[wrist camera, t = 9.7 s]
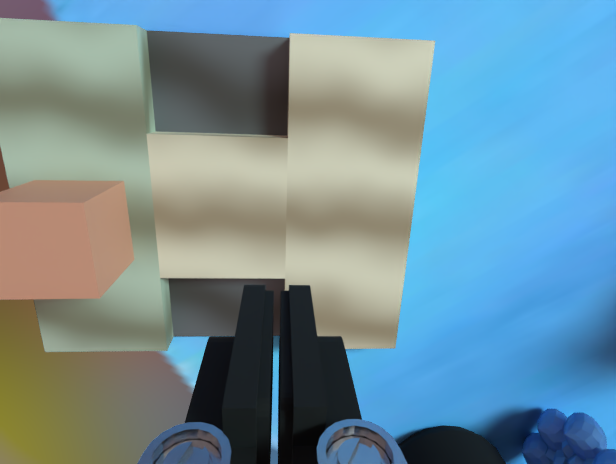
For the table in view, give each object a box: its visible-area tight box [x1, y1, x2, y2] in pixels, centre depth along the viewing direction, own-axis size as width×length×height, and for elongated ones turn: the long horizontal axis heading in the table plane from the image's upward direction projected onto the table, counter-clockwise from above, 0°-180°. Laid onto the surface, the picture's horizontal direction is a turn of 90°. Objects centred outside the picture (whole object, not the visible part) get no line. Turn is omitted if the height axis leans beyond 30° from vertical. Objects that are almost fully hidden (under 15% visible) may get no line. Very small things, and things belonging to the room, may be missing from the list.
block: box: [0, 180, 135, 300], centre depth 21 cm, size 5×5×5 cm
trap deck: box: [0, 18, 435, 352], centre depth 25 cm, size 20×24×2 cm
